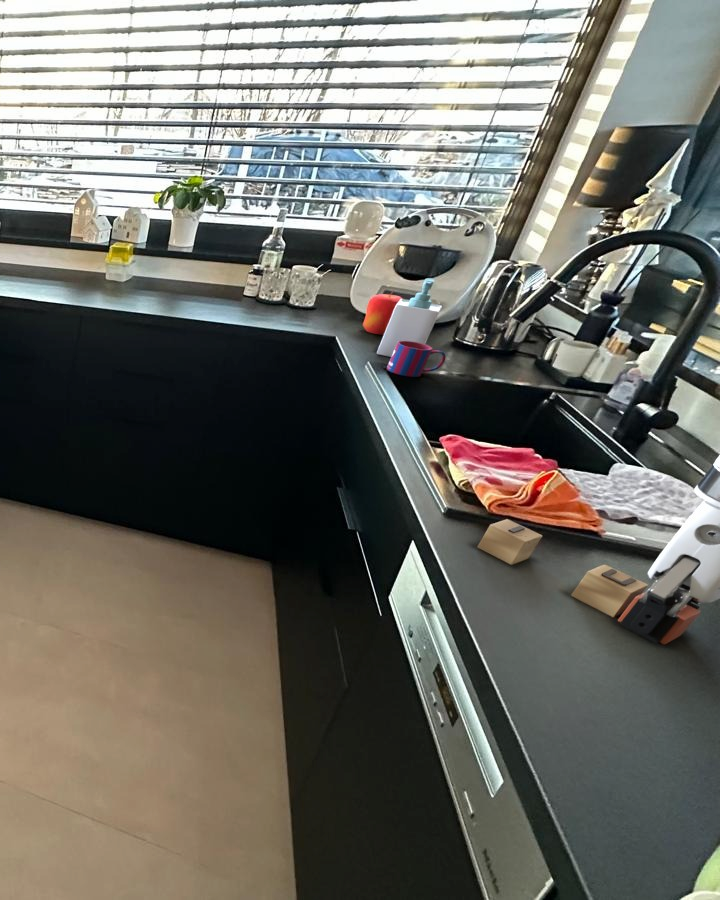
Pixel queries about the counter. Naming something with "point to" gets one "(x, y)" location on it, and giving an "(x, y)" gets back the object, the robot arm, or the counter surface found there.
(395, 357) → the mug
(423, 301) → the soap bottle
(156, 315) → the counter surface
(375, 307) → the apple
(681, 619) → the block
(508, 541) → the block
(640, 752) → the counter surface
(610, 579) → the block
